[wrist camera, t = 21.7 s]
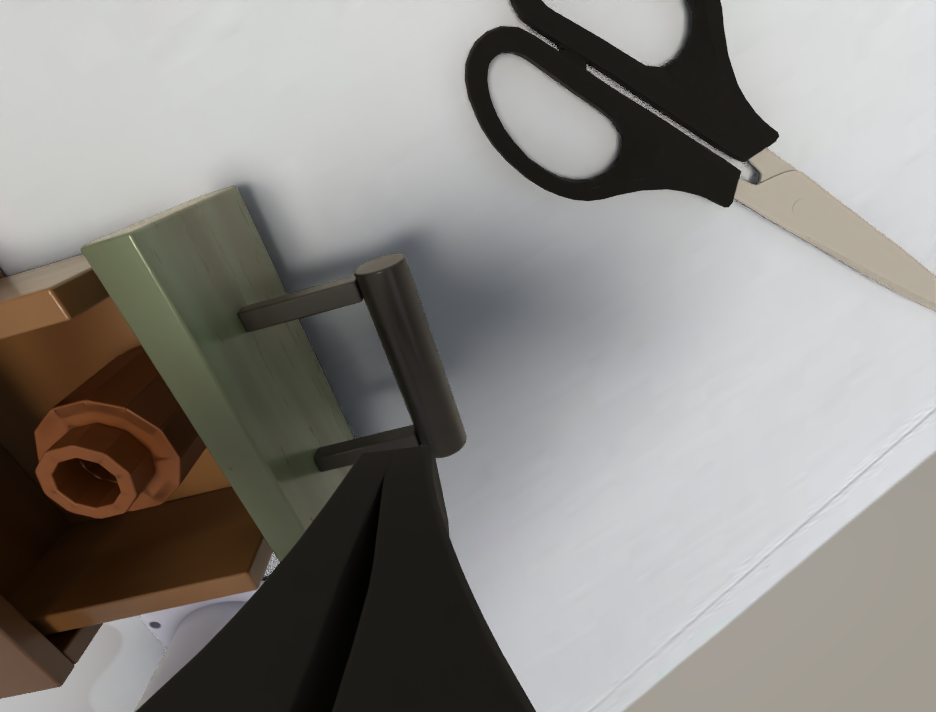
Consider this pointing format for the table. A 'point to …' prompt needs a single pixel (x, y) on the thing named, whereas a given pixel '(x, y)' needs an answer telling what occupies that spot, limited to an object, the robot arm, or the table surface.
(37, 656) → the cabinet
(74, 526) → the drawer
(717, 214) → the table surface
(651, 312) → the table surface
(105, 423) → the spice bottle
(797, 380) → the table surface
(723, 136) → the scissors
